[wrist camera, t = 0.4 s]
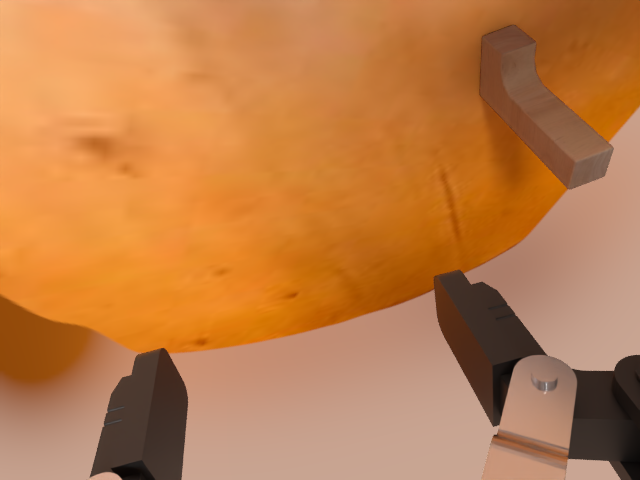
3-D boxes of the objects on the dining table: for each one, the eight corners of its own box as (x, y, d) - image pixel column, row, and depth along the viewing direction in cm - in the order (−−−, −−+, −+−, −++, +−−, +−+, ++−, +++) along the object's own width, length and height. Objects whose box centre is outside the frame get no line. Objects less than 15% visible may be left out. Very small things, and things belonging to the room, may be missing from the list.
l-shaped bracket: (508, 84, 49) (605, 177, 40) (478, 95, 49) (568, 191, 40) (514, 22, 44) (627, 112, 35) (481, 35, 44) (584, 128, 35)
